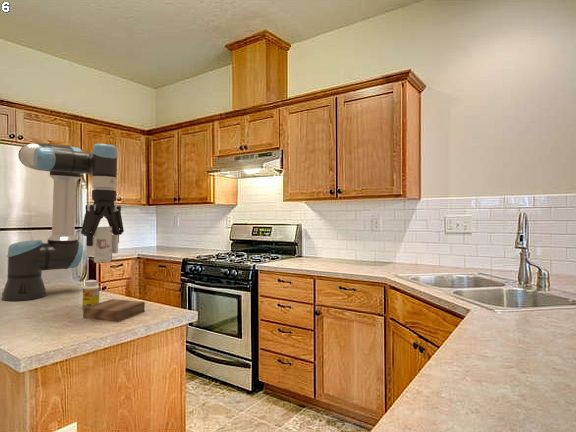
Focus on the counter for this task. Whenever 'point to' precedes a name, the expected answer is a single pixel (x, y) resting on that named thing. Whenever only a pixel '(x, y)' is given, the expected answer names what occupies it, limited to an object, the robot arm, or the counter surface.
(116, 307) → the walnut slab
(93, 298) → the supplement bottle
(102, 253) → the ink box
